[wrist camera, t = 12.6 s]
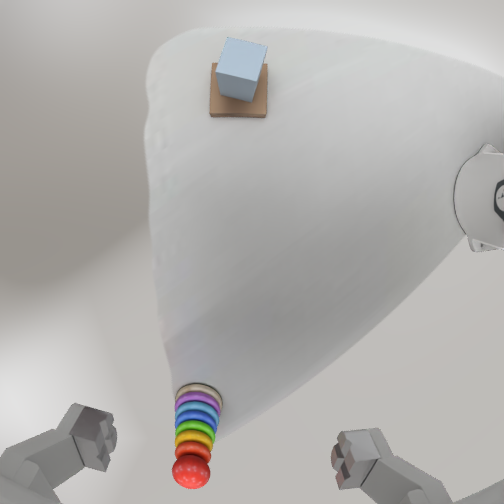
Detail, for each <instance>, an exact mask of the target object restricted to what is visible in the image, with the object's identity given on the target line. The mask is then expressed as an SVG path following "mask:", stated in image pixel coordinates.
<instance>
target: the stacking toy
mask: <svg viewBox="0 0 504 504" xmlns="http://www.w3.org/2000/svg"><path fill="white" fill-rule="evenodd" d="M221 409H222V400H221V397H220V396H219V394H218V393H217V392H216V391H215V390H213V389H212V388H210V387H208V386H205V385H201V384H192V385H188V386H185V387H183V388H181V389H180V390H179V391H178V393H177V395H176V398H175V412H176V413H175V420H176V421H175V428H176V432H175V435H176V438H175V446H176V450H175V456H176V458H177V460H176V462H175V463H174V465H173V468H172V474H173V477H174V479H175V481H176V482H177V483H178V484H180V485H181V486H183V487H185V488H188V489H197V488H200V487H202V486H204V485H205V484H206V483H207V482H208V480H209V478H210V469H209V466H208V465H207V463H209V461H210V459H211V453H210V452H211V450H212V447H213V443H214V441H215V434H216V431H217V426H218V424H219V417H220V412H221Z"/></svg>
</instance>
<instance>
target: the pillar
mask: <svg viewBox="0 0 504 504" xmlns="http://www.w3.org/2000/svg"><path fill="white" fill-rule="evenodd" d="M266 51H267V46H263V45H260V44H256V43H252V42H247V41H243V40H239V39H234V38H230V37H227V39H226V42H225V45H224V48H223V51H222V53H221V56H220V59H219V62H218V65H217V68H216V71H215V73H216V77H217V82H218V86H219V90H220V95H223V96H227V97H231V98H235V99H239V100H243V101H247V102H251V103H252V100H253V97H254V93H255V90H256V87H257V84H258V81H259V77H260V74H261V70H262V66H263V62H264V59H265V55H266Z"/></svg>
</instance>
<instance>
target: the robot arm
mask: <svg viewBox="0 0 504 504" xmlns="http://www.w3.org/2000/svg"><path fill="white" fill-rule="evenodd" d="M454 203H455V210H456V215H457V218H458V221H459V223H460V225H461V227H462V228H463V230H464V231H465V233H466V234H467V236H468V241H469V245H470V248H471V250H472V251H474V252H482V251H489V250H496V249H501V250H504V153H501V152H500V151H498V150H497V149H496V148H494V147H493V146H492V145H490V144H484V145H483V146H482V148H481V149H480V151H479V153H478V154H477V155H475V156H474V157H472V158H470V159H469V160H468V161H467V162H466V163H465V164H464V165H463V166H462V168H461V170H460V172H459V174H458V177H457V180H456V185H455V192H454ZM480 244H481V245H480ZM113 421H114V418H113V415H112V414H111V413H109V412H105V411H101V410H98V409H94V408H91V407H87V406H83V405H80V404H77V403H74V404H72V405H71V407H70V408H69V410H68V411H67V413H66V414H65V416H64V417H63V419H62V421H61V422H60V424H59V426H58V427H57V429H56V430H55V429H51V430H49V431H46V432H44V433H42V434H40V435H37V436H35V437H33V438H30V439H28V440H26V441H23V442H21V443H18V444H16V445H14V446H11V447H9V448H6V450H5V451H4V453H3V454H2V455H1V457H0V504H62V503H60V500H59V498H58V497H57V495H56V494H55V492H54V491H53V489H54V488H56V487H57V486H59V485H60V484H62V483H63V482H64V481H66V480H67V479H69V478H70V477H72V476H73V475H75V474H76V473H78V472H79V471H80V470H82V469H83V468H84V466H85V467H88V468H92V469H95V470H99V471H103V472H106V470H107V467H108V464H109V462H110V456H109V454H110V453H111V452H113V451H114V449H115V447H116V442H117V432H116V428H115V427H114V426H113V425H112V424H113ZM337 440H338V443H337V444H336V445H335V446H334V447H333V450H332V453H331V463H332V467H333V469H335V470H336V471H337V472H338V473H337V475H336V480H337V484H338V487H339V490H342V489H350V488H359V487H361V490H363V491H364V492H365V493H366V494H367V495H368V496H369V497H370V498H372V499H373V500H374V501H375V502H376V503H377V504H504V479H503V480H501V481H499V482H497V483H495V484H493V485H492V486H489V487H488V488H485V489H483V490H481V491H479V492H477V493H475V494H472V495H470V496H468V497H466V498H463V499H461V500H459V501H456V502H454V503H453V502H452V500H451V498H450V497H449V495H448V493H447V491H446V489H445V488H444V486H443V484H442V482H441V481H439V480H438V479H436V478H434V477H432V476H431V475H429V474H427V473H425V472H424V471H422V470H420V469H418V468H417V467H415V466H413V465H412V464H410V463H408V462H407V461H405V460H403V459H402V458H400V457H398V456H394V455H393V453H392V451H391V449H390V447H389V445H388V443H387V442H386V439H385V438H384V436H383V434H382V432H381V430H380V429H379V428H373V429H362V430H352V431H341V432H340V433H339V435H338V437H337Z"/></svg>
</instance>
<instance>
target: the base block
mask: <svg viewBox="0 0 504 504" xmlns="http://www.w3.org/2000/svg"><path fill="white" fill-rule="evenodd" d="M217 65H218V63H212V73H211V93H210V115H211V117H257V118H265V116H266V109H267V64H263V66H262V70H261V74H260V77H259V81H258V84H257V87H256V90H255V93H254V97H253V100H252V103H251V102H247V101H243V100H239V99H235V98H231V97H227V96H223V95H220V90H219V86H218V82H217V77H216V73H215V71H216V68H217Z"/></svg>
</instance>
